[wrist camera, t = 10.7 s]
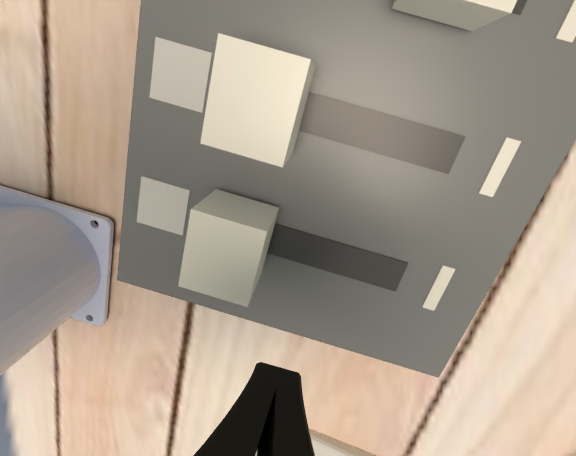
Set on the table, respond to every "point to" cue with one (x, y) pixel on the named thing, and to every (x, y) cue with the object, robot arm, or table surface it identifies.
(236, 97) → the middle switch
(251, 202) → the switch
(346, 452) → the light switch
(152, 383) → the table surface
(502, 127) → the switch panel
